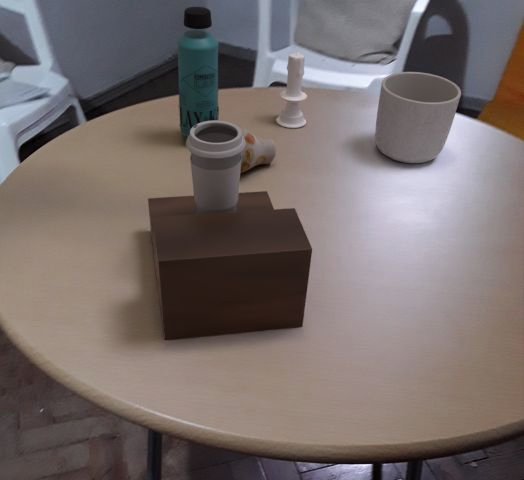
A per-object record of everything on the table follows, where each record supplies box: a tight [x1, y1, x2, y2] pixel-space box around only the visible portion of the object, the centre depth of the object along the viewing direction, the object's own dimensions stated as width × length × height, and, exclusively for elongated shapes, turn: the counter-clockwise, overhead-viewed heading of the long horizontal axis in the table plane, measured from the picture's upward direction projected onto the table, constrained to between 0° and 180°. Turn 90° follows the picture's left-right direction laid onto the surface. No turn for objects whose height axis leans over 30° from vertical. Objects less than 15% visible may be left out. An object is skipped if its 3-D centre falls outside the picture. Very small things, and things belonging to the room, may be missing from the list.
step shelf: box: [147, 190, 313, 341], centre depth 76 cm, size 22×16×11 cm
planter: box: [374, 71, 462, 164], centre depth 102 cm, size 12×12×11 cm
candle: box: [275, 50, 308, 129], centre depth 108 cm, size 5×5×12 cm
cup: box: [185, 120, 246, 215], centre depth 75 cm, size 7×7×12 cm
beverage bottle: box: [176, 6, 220, 138], centre depth 98 cm, size 6×7×20 cm
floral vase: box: [238, 126, 277, 174], centre depth 97 cm, size 8×10×10 cm
